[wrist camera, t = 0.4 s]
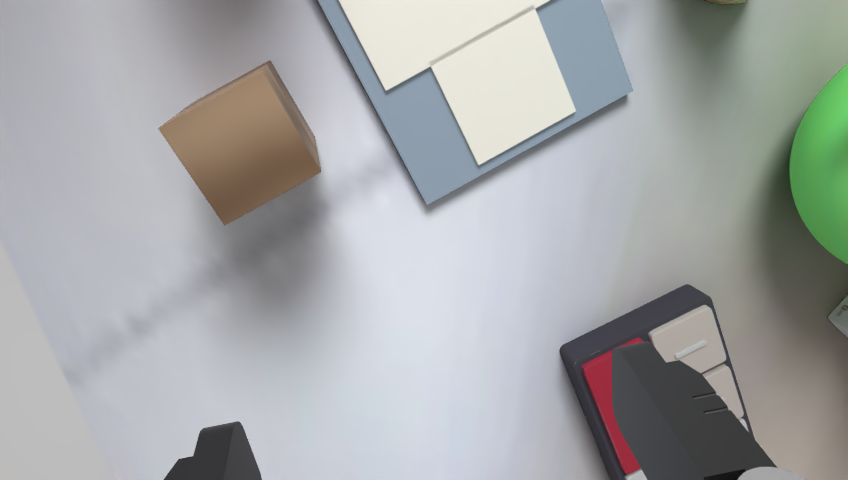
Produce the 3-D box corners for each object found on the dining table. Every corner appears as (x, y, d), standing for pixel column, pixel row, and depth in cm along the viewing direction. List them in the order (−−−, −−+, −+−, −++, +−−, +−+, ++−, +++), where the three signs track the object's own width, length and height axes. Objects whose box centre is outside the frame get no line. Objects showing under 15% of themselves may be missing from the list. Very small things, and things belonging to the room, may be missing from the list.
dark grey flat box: (717, 298, 43) (767, 461, 48) (682, 277, 47) (731, 429, 52) (575, 368, 43) (639, 525, 48) (552, 341, 47) (613, 489, 52)
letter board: (304, -24, 35) (304, -26, 34) (539, -153, 35) (546, -158, 34) (424, 201, 40) (428, 206, 39) (627, 89, 41) (635, 91, 40)
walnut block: (193, 102, 36) (158, 128, 27) (270, 60, 36) (261, 71, 27) (241, 176, 38) (224, 225, 29) (314, 136, 38) (321, 171, 29)
